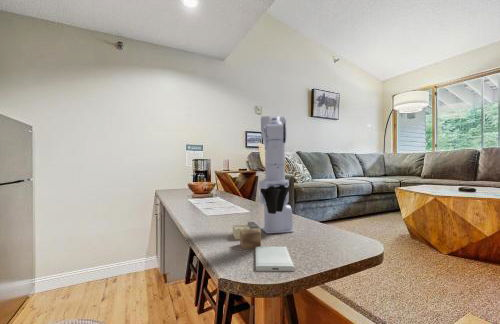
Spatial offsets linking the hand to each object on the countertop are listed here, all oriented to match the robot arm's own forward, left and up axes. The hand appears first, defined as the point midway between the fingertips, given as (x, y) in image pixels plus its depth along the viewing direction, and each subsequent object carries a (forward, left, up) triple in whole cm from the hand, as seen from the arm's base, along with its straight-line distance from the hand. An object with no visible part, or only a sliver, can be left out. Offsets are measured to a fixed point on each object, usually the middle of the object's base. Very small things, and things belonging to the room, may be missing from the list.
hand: (275, 212), depth 66 cm
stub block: (+8, 0, -9) cm, 12 cm away
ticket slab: (+7, -9, -9) cm, 14 cm away
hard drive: (+5, +11, -10) cm, 15 cm away
